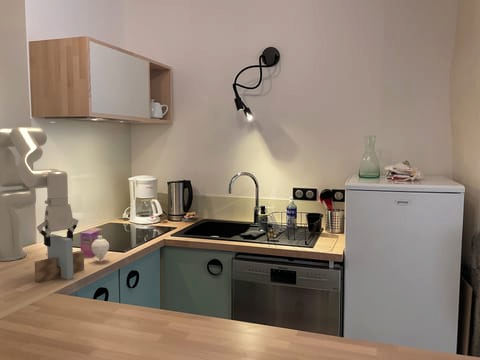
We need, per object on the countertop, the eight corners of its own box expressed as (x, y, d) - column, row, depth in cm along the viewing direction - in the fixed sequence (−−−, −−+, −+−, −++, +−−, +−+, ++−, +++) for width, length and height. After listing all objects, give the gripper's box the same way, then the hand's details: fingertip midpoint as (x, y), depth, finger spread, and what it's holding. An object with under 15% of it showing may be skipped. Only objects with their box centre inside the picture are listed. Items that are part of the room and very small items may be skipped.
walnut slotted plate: (38, 283, 163) (37, 262, 162) (35, 281, 165) (34, 261, 164) (84, 269, 179) (83, 251, 178) (80, 268, 181) (80, 250, 180)
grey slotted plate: (73, 278, 169) (72, 239, 167) (67, 279, 167) (66, 240, 165) (53, 271, 177) (52, 234, 175) (48, 273, 175) (46, 235, 173)
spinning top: (91, 265, 186) (90, 238, 185) (92, 260, 193) (91, 234, 192) (109, 263, 188) (108, 237, 187) (109, 258, 195) (109, 233, 194)
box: (91, 258, 197) (90, 233, 196) (80, 257, 198) (79, 232, 197) (103, 252, 207) (102, 228, 206) (92, 251, 208) (91, 227, 207)
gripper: (42, 205, 160) (43, 249, 162) (82, 200, 174) (83, 240, 176) (31, 203, 164) (33, 246, 166) (71, 198, 178) (72, 237, 180)
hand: (59, 243), depth 171 cm, fingers open, 9 cm apart
